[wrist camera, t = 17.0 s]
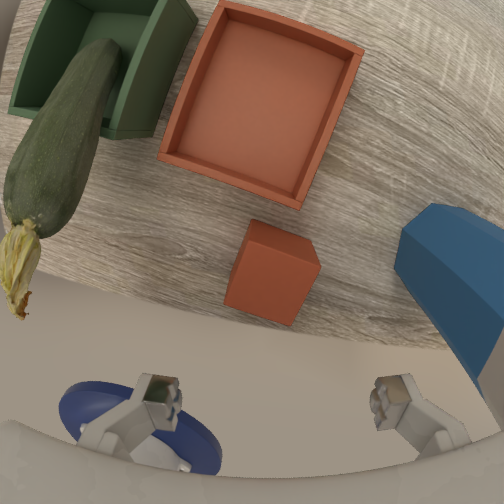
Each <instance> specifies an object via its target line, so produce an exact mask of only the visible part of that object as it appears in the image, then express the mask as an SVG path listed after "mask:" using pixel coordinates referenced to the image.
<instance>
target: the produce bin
mask: <svg viewBox="0 0 504 504" xmlns="http://www.w3.org/2000/svg"><path fill="white" fill-rule="evenodd" d="M197 21H198V18H197V17H196V15H195V14H194V12H193V11H192V9H191V7H190V6H189V4H188V3H187V1H186V0H46V2H45V4H44V7H43V9H42V11H41V13H40V15H39V17H38V20H37V22H36V24H35V27H34V29H33V32H32V34H31V37H30V39H29V42H28V45H27V47H26V50H25V53H24V56H23V59H22V62H21V65H20V68H19V71H18V74H17V78H16V81H15V84H14V88H13V92H12V96H11V100H10V104H9V109H8V114H11V115H15V116H20V117H25V118H29V119H33V120H34V118H35V117H36V115H37V114H38V112H39V111H40V110H41V108H42V107H43V106H44V104H45V102H46V101H47V99H48V98H49V96H50V95H51V93H52V91H53V90H54V88H55V87H56V85H57V84H58V82H59V81H60V79H61V78H62V76H63V74H64V73H65V71H66V69H67V67H68V65H69V64H70V62H71V61H72V59H73V58H74V57H75V55H76V54H77V53H79V52H80V51H81V50H82V49H83V48H84V47H85V46H86V45H88V44H90V43H91V42H93V41H94V40H97V39H108V38H111V39H113V40H114V41H115V42H116V43H117V44H118V45H119V46H120V47H121V50H122V56H123V59H122V62H121V66H120V70H119V74H118V76H117V79H116V81H115V84H114V86H113V88H112V90H111V92H110V95H109V98H108V101H107V104H106V107H105V110H104V114H103V118H102V123H101V129H100V135H99V136H100V137H104V138H107V139H111V140H121V139H133V138H148V137H152V136H153V133H154V130H155V127H156V124H157V121H158V118H159V115H160V112H161V109H162V106H163V103H164V101H165V98H166V95H167V92H168V90H169V87H170V85H171V82H172V79H173V77H174V74H175V72H176V69H177V67H178V64H179V62H180V59H181V57H182V55H183V52H184V50H185V48H186V45H187V43H188V41H189V39H190V36H191V34H192V32H193V30H194V28H195V26H196V23H197Z"/></svg>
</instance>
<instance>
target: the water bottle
mask: <svg viewBox="0 0 504 504" xmlns="http://www.w3.org/2000/svg"><path fill="white" fill-rule="evenodd" d="M394 269H395V271H396V272H397V274H398V275H399V277H400V278H401V280H402V281H403V283H404V284H405V286H406V288H407V289H408V291H409V292H410V294H411V295H412V296H413V298H414V299H415V300H416V302H417V303H418V304H419V306H420V307H421V308H422V310H423V311H424V312H425V314H426V315H427V316H428V318H429V319H430V320H431V322H432V323H433V324H434V326H435V327H436V328H437V330H438V331H439V333H440V334H441V335H442V337H443V338H444V340H445V341H446V342H447V344H448V345H449V347H450V348H451V350H452V351H453V353H454V354H455V355H456V357H457V358H458V360H459V361H460V363H461V364H462V366H463V367H464V369H465V371H466V372H467V374H468V375H469V377H470V378H471V380H472V381H473V383H474V384H475V386H476V387H477V389H478V391H479V393H480V394H481V396H482V398H483V399H484V401H485V403H486V404H487V406H488V408H489V409H490V411H491V412H492V414H493V416H494V418H495V420H496V422H497V423H498V425H499V427H500V429H501V431H502V430H504V230H503V229H501V228H500V227H498V226H496V225H494V224H492V223H490V222H489V221H487V220H485V219H483V218H481V217H479V216H477V215H475V214H473V213H471V212H469V211H467V210H465V209H463V208H458V207H453V206H447V205H441V204H435V203H431V204H430V205H429V206H428V207H427V208H426V209H425V210H424V211H422V212H421V213H420V214H419V215H418V216H417V217H416V218H414V219H413V220H412V221H411V222H410V223H409V224H407V225H406V226H405V227H404V228H403V229H402V233H401V238H400V243H399V248H398V252H397V257H396V261H395V265H394Z"/></svg>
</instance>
